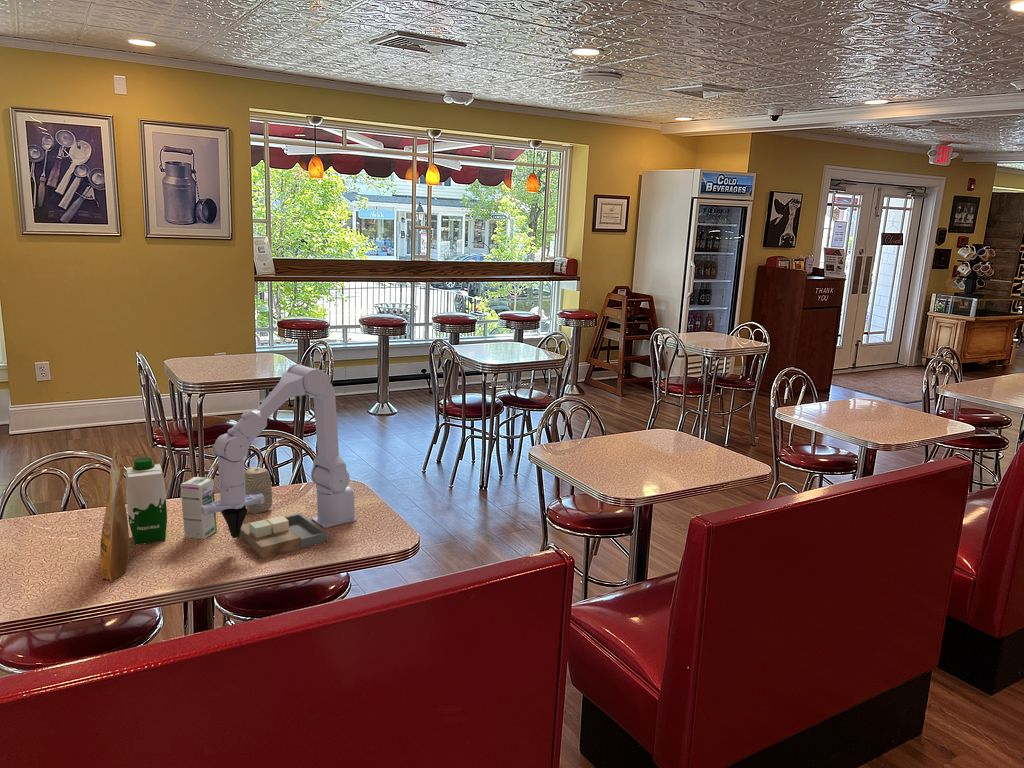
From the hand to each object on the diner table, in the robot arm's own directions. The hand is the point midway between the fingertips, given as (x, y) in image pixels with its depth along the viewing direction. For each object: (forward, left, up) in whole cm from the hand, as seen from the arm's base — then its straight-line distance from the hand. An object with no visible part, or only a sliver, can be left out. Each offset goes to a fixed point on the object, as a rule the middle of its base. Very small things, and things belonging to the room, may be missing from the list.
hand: (235, 536), depth 188 cm
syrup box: (+4, -15, -4) cm, 16 cm away
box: (-17, 0, -4) cm, 17 cm away
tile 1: (-6, 0, -1) cm, 6 cm away
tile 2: (-11, 0, -1) cm, 11 cm away
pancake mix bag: (+25, -7, -4) cm, 26 cm away
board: (-8, 0, -4) cm, 9 cm away
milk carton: (+15, -20, -4) cm, 25 cm away
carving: (-14, -22, -4) cm, 27 cm away
